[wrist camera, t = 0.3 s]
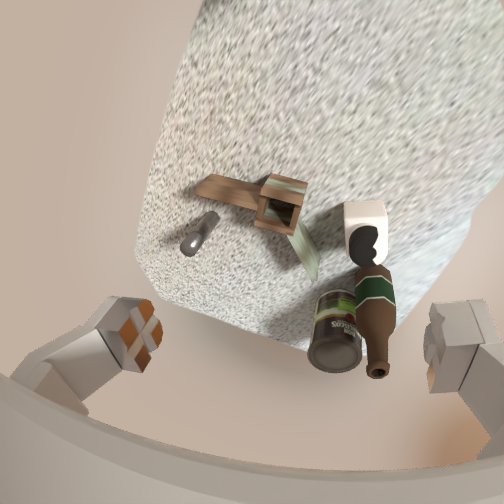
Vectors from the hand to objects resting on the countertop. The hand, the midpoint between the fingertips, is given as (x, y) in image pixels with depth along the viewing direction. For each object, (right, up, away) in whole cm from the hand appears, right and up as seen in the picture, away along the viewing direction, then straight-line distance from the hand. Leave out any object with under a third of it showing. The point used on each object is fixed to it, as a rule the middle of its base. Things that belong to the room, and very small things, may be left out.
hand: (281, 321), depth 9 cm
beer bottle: (+23, -3, +53) cm, 58 cm away
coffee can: (+18, -10, +59) cm, 62 cm away
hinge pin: (-9, +9, +55) cm, 56 cm away
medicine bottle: (+19, +8, +47) cm, 51 cm away
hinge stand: (+2, +10, +51) cm, 52 cm away
